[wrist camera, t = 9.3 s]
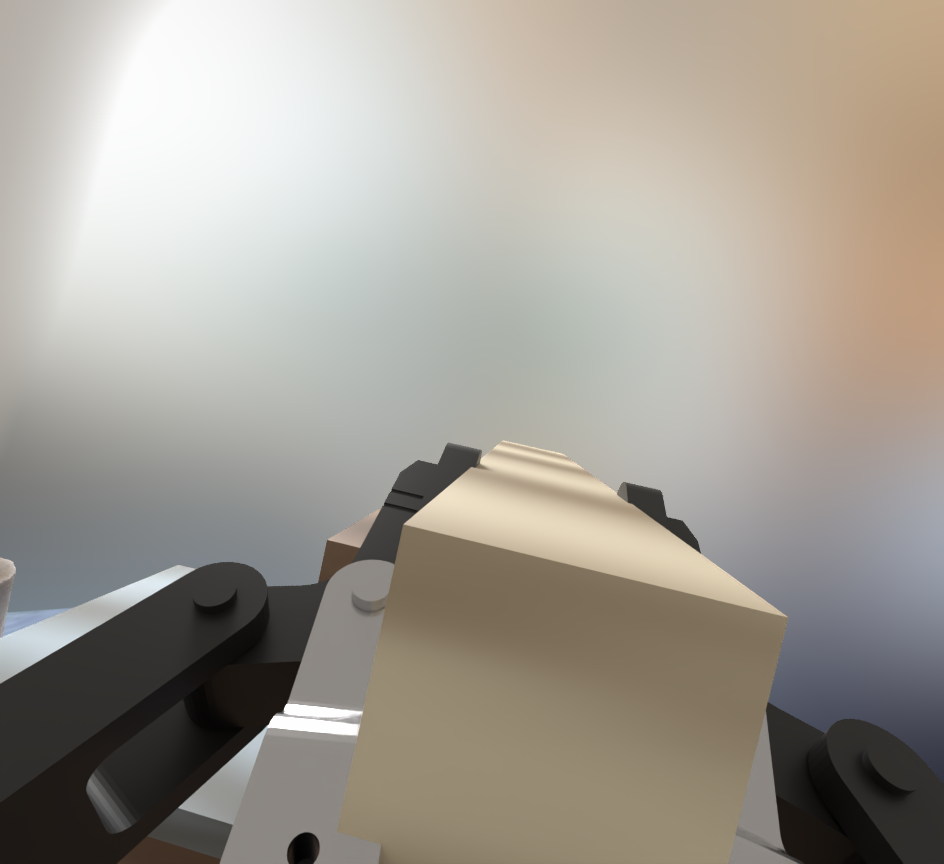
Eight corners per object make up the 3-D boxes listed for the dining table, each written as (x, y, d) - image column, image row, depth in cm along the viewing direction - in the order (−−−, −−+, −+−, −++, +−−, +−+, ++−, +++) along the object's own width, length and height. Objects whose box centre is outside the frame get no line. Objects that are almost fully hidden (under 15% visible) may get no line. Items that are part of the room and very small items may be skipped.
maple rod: (696, 994, 4) (787, 616, 4) (325, 880, 4) (403, 524, 4) (549, 513, 26) (562, 453, 26) (489, 499, 26) (503, 440, 26)
